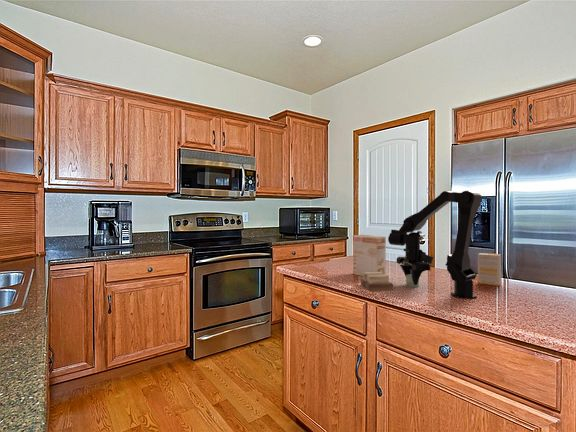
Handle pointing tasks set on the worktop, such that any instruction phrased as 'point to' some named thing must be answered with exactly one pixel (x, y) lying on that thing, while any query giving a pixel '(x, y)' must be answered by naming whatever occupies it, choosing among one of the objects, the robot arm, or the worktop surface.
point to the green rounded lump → (410, 281)
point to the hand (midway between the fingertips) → (412, 283)
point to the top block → (375, 277)
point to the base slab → (376, 286)
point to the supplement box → (489, 269)
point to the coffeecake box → (369, 254)
